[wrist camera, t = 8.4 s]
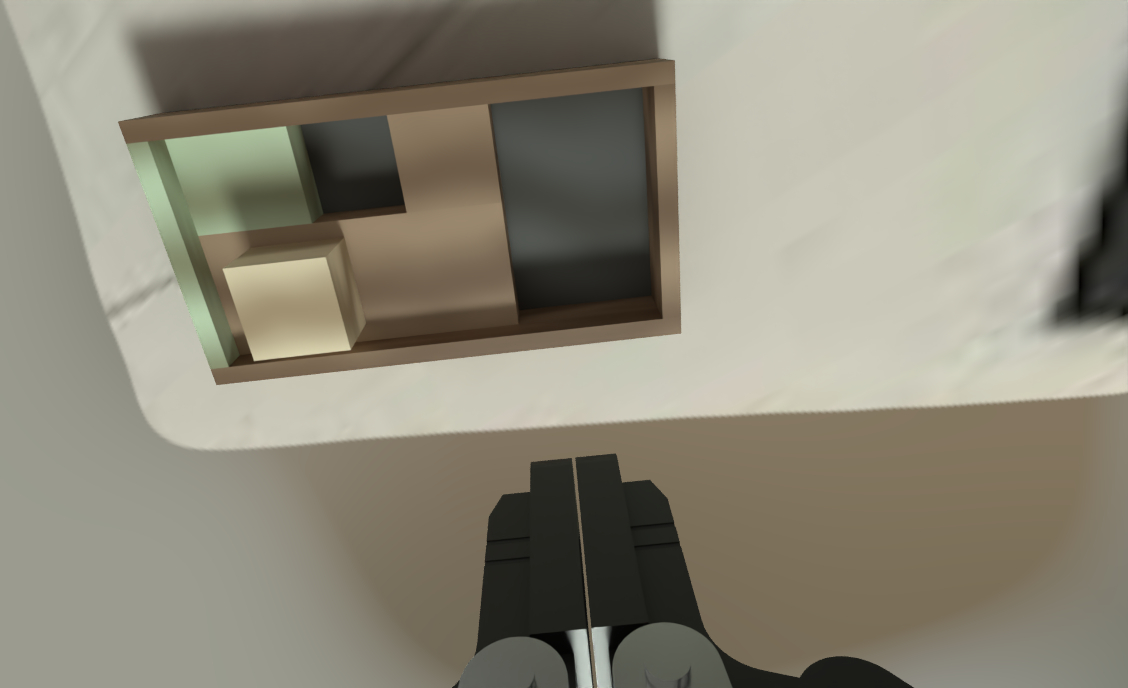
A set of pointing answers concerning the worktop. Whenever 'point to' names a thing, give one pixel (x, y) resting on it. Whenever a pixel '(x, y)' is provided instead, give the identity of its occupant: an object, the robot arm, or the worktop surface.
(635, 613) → the robot arm
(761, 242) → the worktop surface
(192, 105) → the worktop surface
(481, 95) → the channel
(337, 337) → the birch block
